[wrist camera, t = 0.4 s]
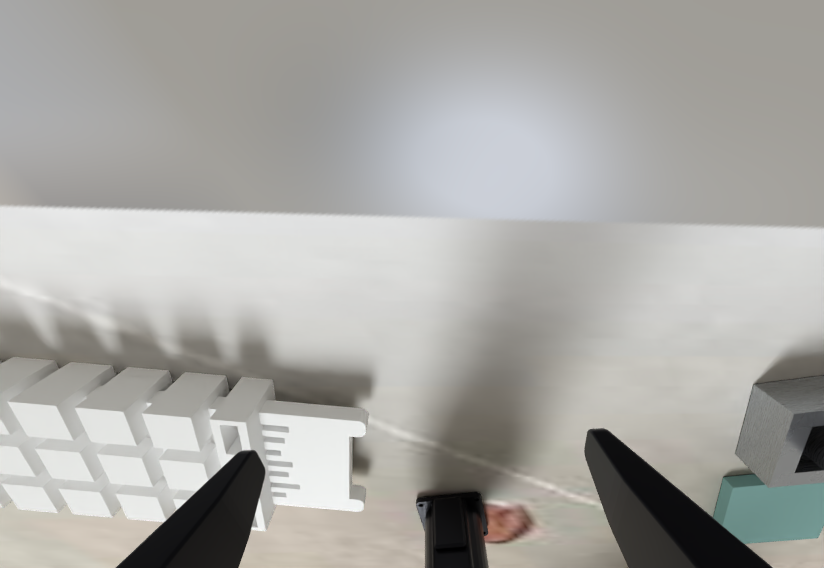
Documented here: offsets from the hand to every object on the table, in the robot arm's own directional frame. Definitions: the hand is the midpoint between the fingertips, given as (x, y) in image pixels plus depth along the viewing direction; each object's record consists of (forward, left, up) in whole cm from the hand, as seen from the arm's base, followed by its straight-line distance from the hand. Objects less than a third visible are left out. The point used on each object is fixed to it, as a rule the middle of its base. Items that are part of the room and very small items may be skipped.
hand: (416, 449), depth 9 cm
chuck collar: (-19, -28, -15) cm, 37 cm away
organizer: (-11, +25, -15) cm, 31 cm away
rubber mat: (-31, -28, -15) cm, 44 cm away
